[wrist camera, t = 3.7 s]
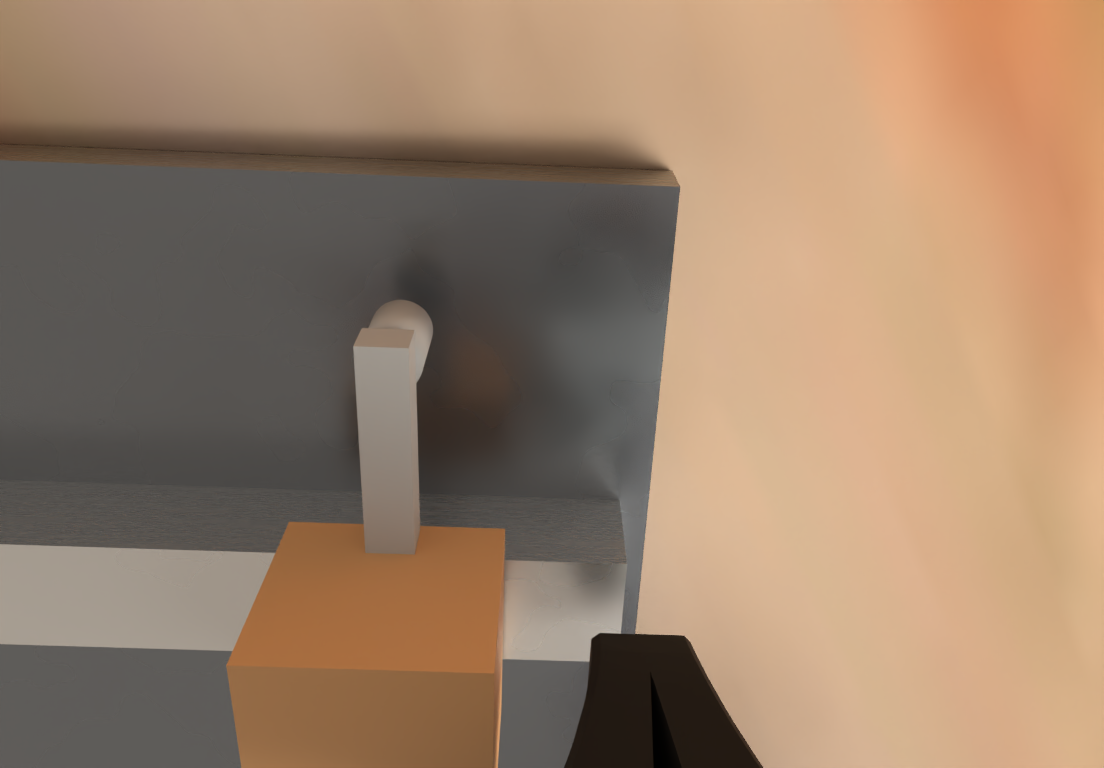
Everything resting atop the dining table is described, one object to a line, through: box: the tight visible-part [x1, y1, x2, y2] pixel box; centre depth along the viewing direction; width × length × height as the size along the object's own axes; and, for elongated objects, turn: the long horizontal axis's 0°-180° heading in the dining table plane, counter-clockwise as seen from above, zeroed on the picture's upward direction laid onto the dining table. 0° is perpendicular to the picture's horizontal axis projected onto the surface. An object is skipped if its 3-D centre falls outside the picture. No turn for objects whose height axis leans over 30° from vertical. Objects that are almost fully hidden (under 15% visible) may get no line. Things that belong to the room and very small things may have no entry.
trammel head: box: [226, 300, 505, 768], centre depth 13 cm, size 3×7×4 cm, turn 178°
